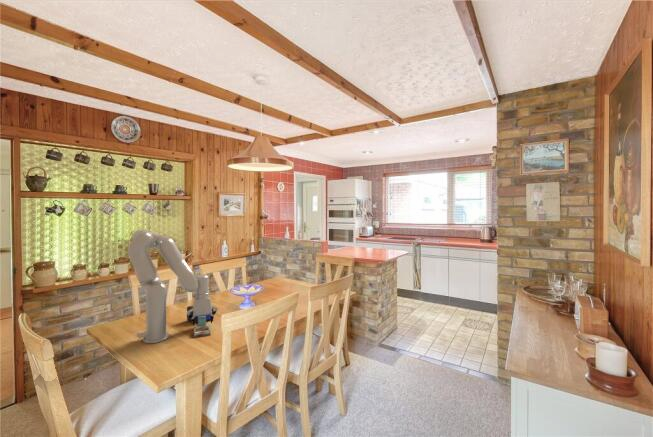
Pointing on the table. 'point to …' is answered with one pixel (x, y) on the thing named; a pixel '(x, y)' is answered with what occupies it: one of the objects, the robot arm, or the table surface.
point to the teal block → (201, 321)
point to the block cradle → (201, 331)
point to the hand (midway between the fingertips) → (202, 323)
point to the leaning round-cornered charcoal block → (208, 317)
